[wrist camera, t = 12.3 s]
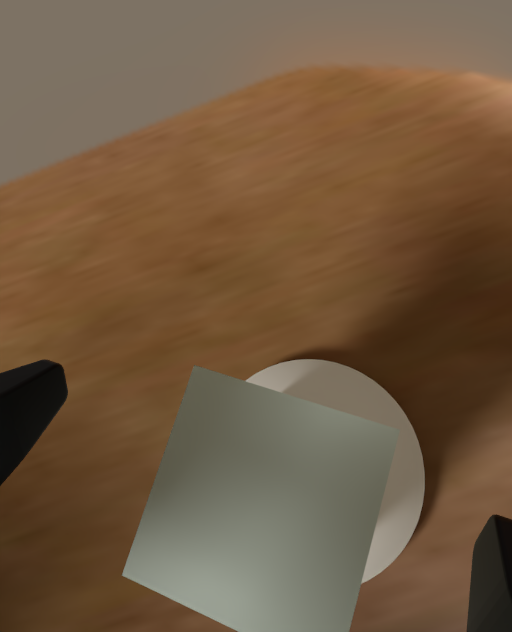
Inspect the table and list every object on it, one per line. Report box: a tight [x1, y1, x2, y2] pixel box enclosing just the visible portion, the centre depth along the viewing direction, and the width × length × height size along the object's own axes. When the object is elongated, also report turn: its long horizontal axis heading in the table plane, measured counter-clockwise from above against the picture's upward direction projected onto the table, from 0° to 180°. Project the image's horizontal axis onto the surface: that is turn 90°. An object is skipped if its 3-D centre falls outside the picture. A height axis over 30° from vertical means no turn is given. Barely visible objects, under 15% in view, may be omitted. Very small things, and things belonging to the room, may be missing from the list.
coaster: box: [246, 359, 425, 583], centre depth 21 cm, size 10×10×1 cm
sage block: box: [122, 365, 400, 632], centre depth 15 cm, size 5×5×11 cm
